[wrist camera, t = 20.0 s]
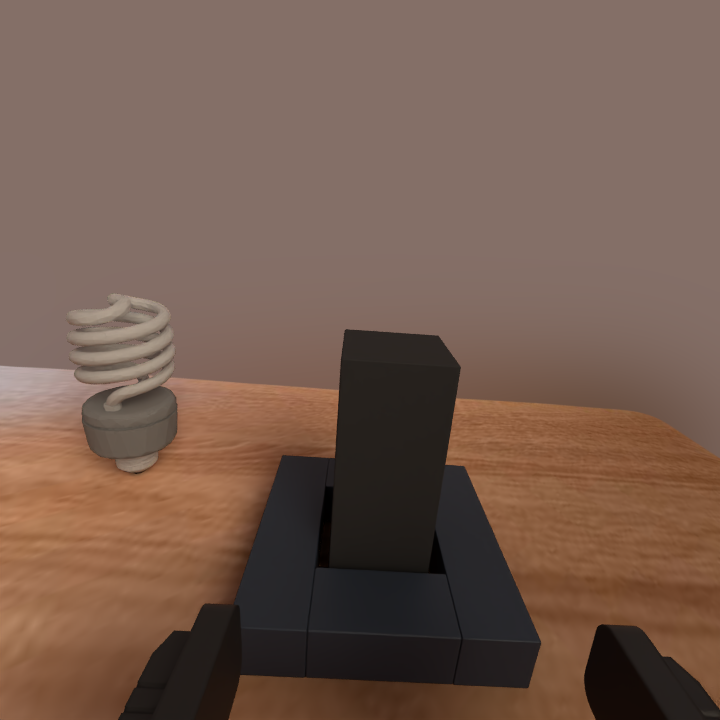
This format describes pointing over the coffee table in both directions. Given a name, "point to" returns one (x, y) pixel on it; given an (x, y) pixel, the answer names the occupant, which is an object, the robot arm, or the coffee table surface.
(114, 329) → the light bulb
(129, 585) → the coffee table surface
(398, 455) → the post
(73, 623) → the coffee table surface
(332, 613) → the base pad
